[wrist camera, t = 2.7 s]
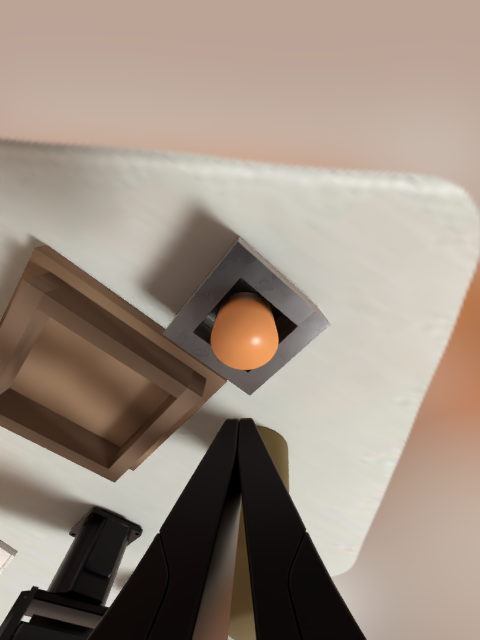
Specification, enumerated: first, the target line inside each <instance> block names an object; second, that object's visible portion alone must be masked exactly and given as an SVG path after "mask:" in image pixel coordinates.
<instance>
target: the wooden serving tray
mask: <svg viewBox="0 0 480 640" xmlns="http://www.w3.org/2000/svg"><path fill="white" fill-rule="evenodd" d="M165 330H166V329H164V328H163V327H161V326H160V325H158V324H157V323H156V322H154V321H153V320H151V319H150V318H149V317H147V316H146V315H144V314H143V313H142V312H140V311H139V310H137V309H136V308H135V307H133V306H132V305H130V304H129V303H128V302H126V301H125V300H123V299H122V298H121V297H119V296H118V295H116V294H115V293H114V292H112V291H111V290H109V289H108V288H106V287H105V286H104V285H102V284H101V283H99V282H98V281H97V280H95V279H94V278H92V277H91V276H90V275H88V274H87V273H85V272H84V271H83V270H81V269H80V268H78V267H77V266H76V265H74V264H73V263H71V262H70V261H69V260H67V259H66V258H64V257H63V256H62V255H60V254H59V253H57V252H56V251H54V250H53V249H52V248H50V247H49V246H44V247H37V248H35V250H34V252H33V254H32V256H31V258H30V260H29V262H28V264H27V267H26V269H25V271H24V273H23V275H22V277H21V279H20V281H19V283H18V286H17V288H16V290H15V292H14V294H13V296H12V298H11V300H10V302H9V305H8V307H7V309H6V311H5V313H4V315H3V317H2V319H1V322H0V426H2V427H4V428H6V429H8V430H10V431H12V432H14V433H16V434H18V435H20V436H22V437H24V438H26V439H28V440H30V441H32V442H34V443H36V444H38V445H40V446H42V447H44V448H46V449H48V450H50V451H52V452H54V453H56V454H58V455H60V456H62V457H64V458H66V459H68V460H70V461H72V462H74V463H76V464H78V465H80V466H82V467H84V468H86V469H88V470H90V471H92V472H94V473H96V474H98V475H100V476H102V477H104V478H106V479H108V480H110V481H113V482H116V481H117V480H118V479H119V478H120V477H121V476H122V475H123V474H124V473H125V472H126V471H127V470H128V469H131V470H133V471H134V470H135V469H136V468H137V467H138V466H139V465H140V464H141V463H142V462H143V461H144V460H145V459H146V458H147V457H148V456H150V455H151V454H152V453H153V452H154V451H155V450H156V449H157V448H158V447H159V446H160V445H161V444H162V443H163V442H164V441H165V440H166V439H167V438H168V437H169V436H170V435H172V434H173V433H174V432H175V431H176V430H177V429H178V428H179V427H180V426H181V425H182V424H183V423H184V422H185V421H186V420H187V419H188V418H189V417H190V416H191V415H192V414H194V413H195V412H196V411H197V410H198V409H199V408H200V407H201V406H202V405H203V404H204V403H205V402H206V401H207V400H208V399H209V398H210V397H211V396H212V395H213V394H214V393H216V392H217V391H218V390H219V389H220V388H221V387H222V386H223V385H224V384H225V383H226V382H227V379H226V378H224V377H223V376H222V375H220V374H219V373H217V372H216V371H214V370H213V369H212V368H210V367H209V366H207V365H206V364H204V363H203V362H202V361H200V360H199V359H197V358H196V357H195V356H193V355H192V354H190V353H189V352H187V351H186V350H185V349H183V348H182V347H180V346H179V345H177V344H176V343H175V342H173V341H172V340H170V339H169V338H168V337H166V336H165V335H163V333H164V331H165Z"/></svg>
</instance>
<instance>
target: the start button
mask: <svg viewBox="0 0 480 640" xmlns="http://www.w3.org/2000/svg"><path fill="white" fill-rule="evenodd" d="M278 341H279V339H278V333H277V329H276V325H275V321H274V317H273V313H272V310H271V307H270V305H269V304H268V303H267V301H266V300H265V299H263V298H262V297H260V296H259V295H256V294H254V293H249V292H242V293H237V294H234V295H231V296H230V297H228V298H227V299H226V300H225V301H224V302H223V303H222V304H221V306H220V308H219V310H218V313H217V317H216V320H215V323H214V326H213V330H212V333H211V346H212V349H213V352H214V354H215V355H216V357H217V358H218V359H219V360H220V361H221V362H223V363H224V364H225V365H227V366H229V367H232V368H235V369H240V370H250V369H255V368H258V367H260V366H263V365H264V364H266V363H267V362H268V361H269V360H270V359H271V358H272V357H273V356H274V354H275V353H276V350H277V348H278Z"/></svg>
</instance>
